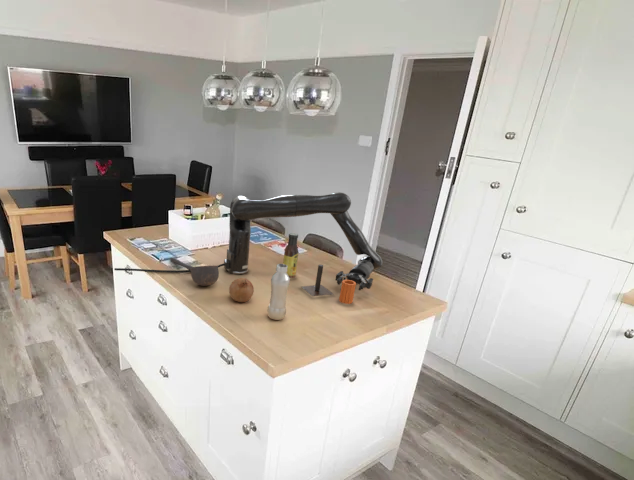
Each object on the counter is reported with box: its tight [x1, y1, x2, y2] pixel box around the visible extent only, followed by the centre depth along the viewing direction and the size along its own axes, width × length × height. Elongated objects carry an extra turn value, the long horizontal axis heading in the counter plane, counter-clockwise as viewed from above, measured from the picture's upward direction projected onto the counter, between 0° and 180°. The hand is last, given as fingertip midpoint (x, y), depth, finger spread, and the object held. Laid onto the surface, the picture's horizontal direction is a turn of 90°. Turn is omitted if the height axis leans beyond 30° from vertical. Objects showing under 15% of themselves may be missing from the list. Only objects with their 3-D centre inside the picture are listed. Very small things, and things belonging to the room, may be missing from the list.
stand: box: [301, 264, 334, 297], centre depth 171 cm, size 10×10×12 cm
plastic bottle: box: [266, 263, 291, 321], centre depth 145 cm, size 6×7×20 cm
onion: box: [228, 277, 255, 303], centre depth 159 cm, size 10×9×10 cm
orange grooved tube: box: [338, 279, 357, 305], centre depth 164 cm, size 5×5×9 cm
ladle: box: [169, 257, 220, 287], centre depth 181 cm, size 12×38×10 cm, turn 35°
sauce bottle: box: [282, 232, 300, 279], centre depth 183 cm, size 6×6×20 cm
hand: (349, 285), depth 164 cm, fingers open, 8 cm apart
